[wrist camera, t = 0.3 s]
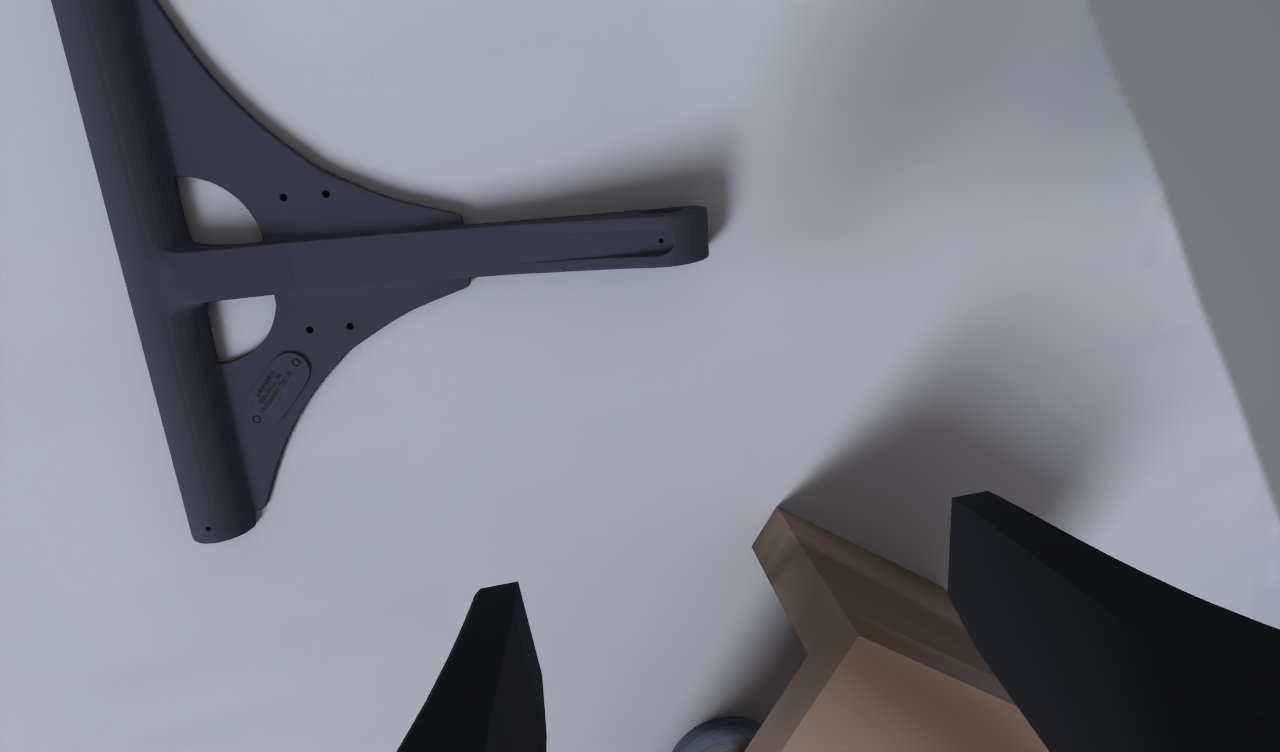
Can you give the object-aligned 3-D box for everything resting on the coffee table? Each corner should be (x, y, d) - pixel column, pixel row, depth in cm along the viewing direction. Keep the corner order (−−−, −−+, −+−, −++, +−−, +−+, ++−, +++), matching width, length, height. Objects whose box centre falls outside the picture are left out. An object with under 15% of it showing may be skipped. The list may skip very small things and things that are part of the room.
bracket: (708, 462, 25) (729, 500, 22) (206, 520, 23) (163, 568, 21) (681, -57, 21) (702, -88, 18) (70, -24, 19) (-5, -52, 17)
